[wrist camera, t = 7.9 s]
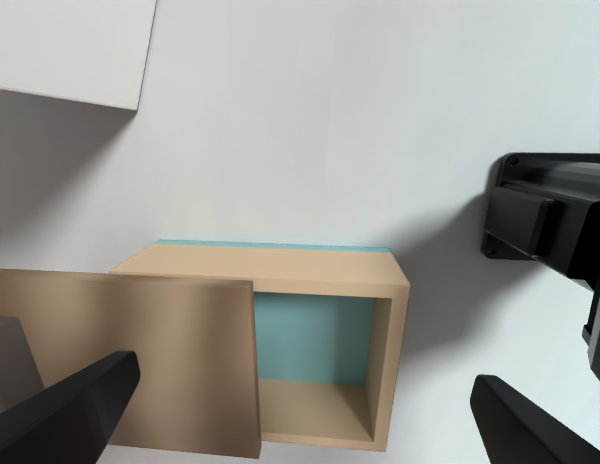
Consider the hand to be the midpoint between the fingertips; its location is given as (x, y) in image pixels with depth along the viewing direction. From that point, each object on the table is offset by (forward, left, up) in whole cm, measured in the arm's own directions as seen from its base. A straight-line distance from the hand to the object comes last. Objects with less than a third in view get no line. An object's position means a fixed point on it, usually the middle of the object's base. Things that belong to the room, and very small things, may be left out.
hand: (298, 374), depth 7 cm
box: (+3, +7, -12) cm, 14 cm away
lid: (+11, +7, -7) cm, 15 cm away
